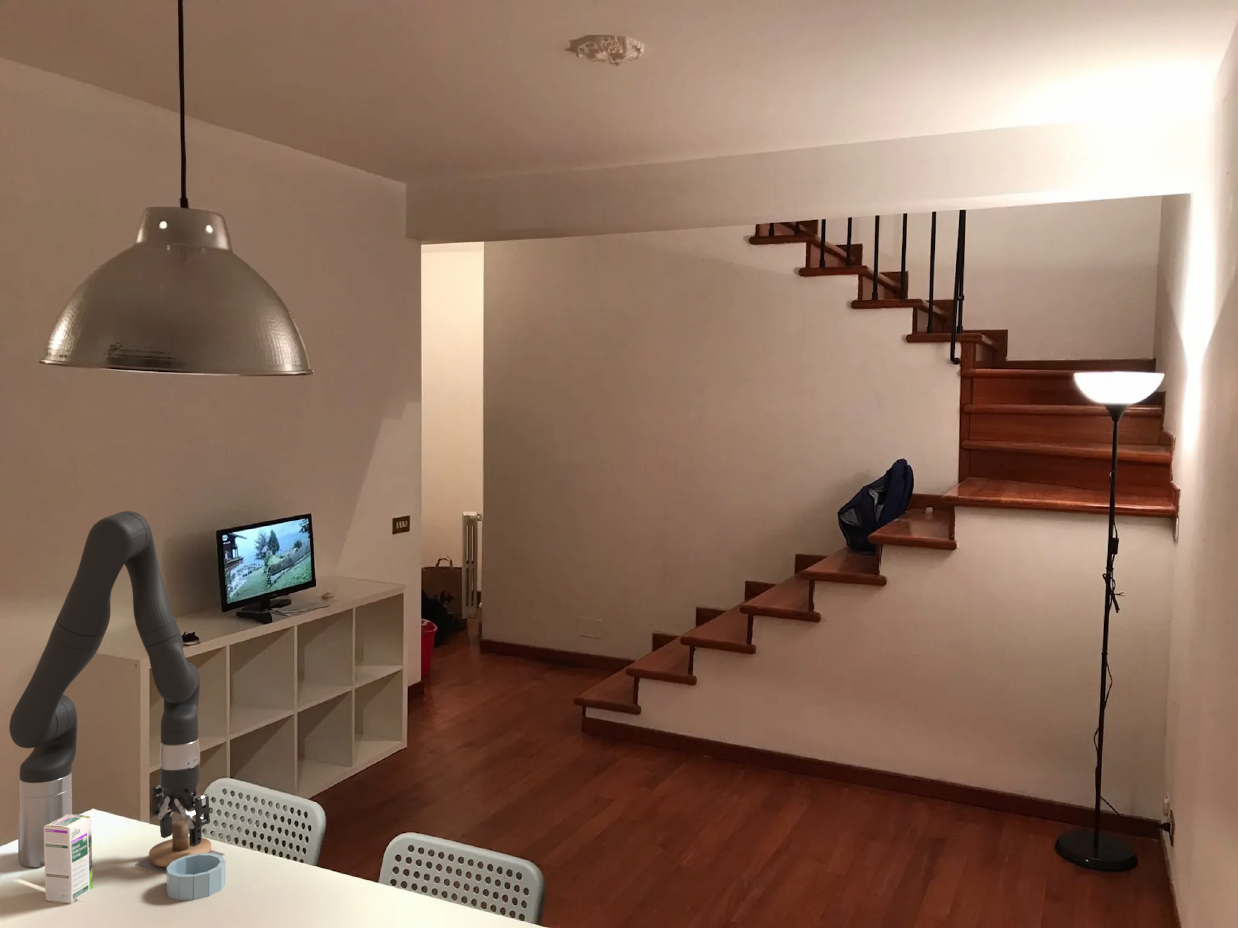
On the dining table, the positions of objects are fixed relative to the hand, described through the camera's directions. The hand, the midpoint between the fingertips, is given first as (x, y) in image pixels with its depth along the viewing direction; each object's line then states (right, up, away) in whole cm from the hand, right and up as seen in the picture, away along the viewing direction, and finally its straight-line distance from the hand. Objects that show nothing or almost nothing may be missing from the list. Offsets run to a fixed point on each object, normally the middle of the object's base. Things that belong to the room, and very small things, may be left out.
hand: (180, 840), depth 204 cm
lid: (0, -4, 0) cm, 4 cm away
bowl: (+8, -5, -12) cm, 15 cm away
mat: (0, -5, 0) cm, 5 cm away
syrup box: (-15, -5, -15) cm, 21 cm away
